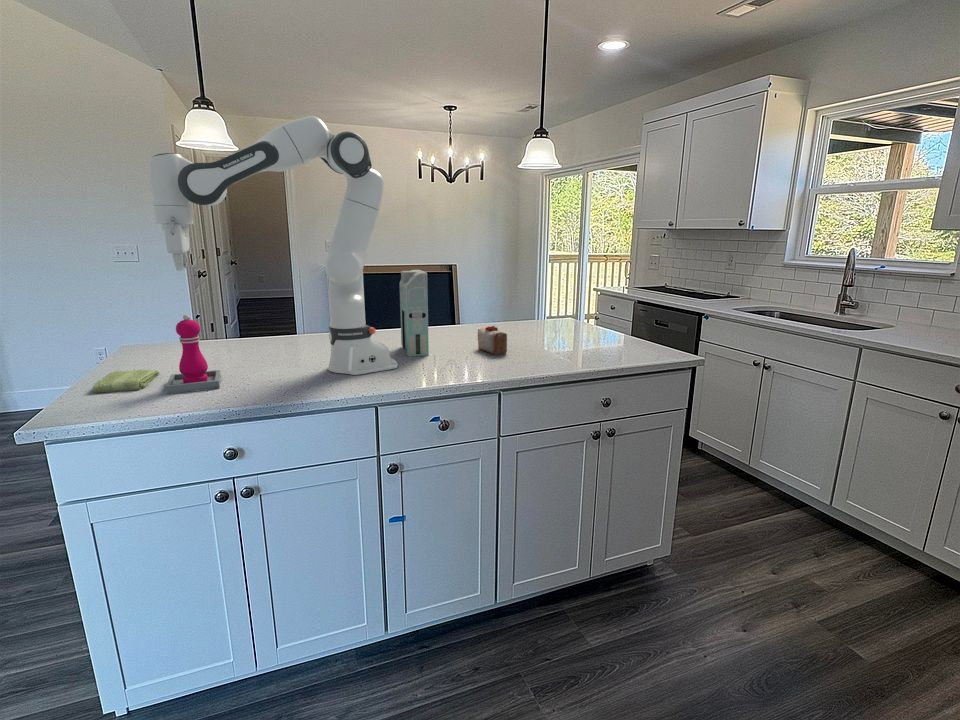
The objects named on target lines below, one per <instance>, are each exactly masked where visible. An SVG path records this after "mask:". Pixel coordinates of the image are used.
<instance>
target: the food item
mask: <svg viewBox="0 0 960 720" xmlns="http://www.w3.org/2000/svg"><path fill="white" fill-rule="evenodd" d="M498 327H499V325H497V326H495V325H491V326H486V327H481V328H478V329H477V339H476V340H477V348H478V349H479V350H482V351H485V352H487V353H490V354H491V355H494V356H499V355H506V354H507V353H508V333H506V332H503V331H501V330H499V328H498Z"/></svg>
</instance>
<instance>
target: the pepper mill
mask: <svg viewBox="0 0 960 720" xmlns="http://www.w3.org/2000/svg"><path fill="white" fill-rule="evenodd" d="M175 331H176V334H178V335H179V343H181V346H182V351H181V352H182V354H181V358H180V361H179V365H178V366H179V372H180V374H181V373H182V374H183V375H184V377H183V383H184V384H185V383H195V382H204V381H208V378H207V375H206V374H205V372H206V371H208V369H209V365H208V362H207V360H206V358H205V356H204V355H203V353H202V351H201V349H200V346H199V342H200V341H201V340H200V336H199V334H200V332H201V325H200V324H199V322H197V321H196V320H194V319H191V316H190V315H189V314H186V313H185V314H183V315H182V320H180V321H179V322H178V323H177V324H176V325H175Z"/></svg>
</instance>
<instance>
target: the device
mask: <svg viewBox="0 0 960 720" xmlns="http://www.w3.org/2000/svg"><path fill="white" fill-rule="evenodd" d="M400 275H401V276H400V281H399V306H400V307H399V308H400V309H399V310H400V311H399V312H400V334H401V335H400V338H401V339H400V340H401V341H400V342H401V347H402V349H403V350H405V353H406V354H407V356H408V357H426V356H429V347H430V346H429V344H430V343H429V305H428V304H429V302H428V301H429V300H428V299H429V297H428V292H429V291H428V272H426V271H424V270H421V269H412V270H411V269H410V270H401V271H400Z"/></svg>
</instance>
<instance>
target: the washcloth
mask: <svg viewBox="0 0 960 720" xmlns="http://www.w3.org/2000/svg"><path fill="white" fill-rule="evenodd" d="M159 374H160V371H159V370H157V369H143V368H142V369H132V370H125V371H123V370H114V371H113V372H109V373H107V374H106V375H105V376H104V377H102V378H101V379H100V380H97V381H96V382H95V383H94V385H93V386H92V391H93V393H96V394H100V393H101V394H103V393H114V392H124V391H125V392H127V391H128V392H129V391H140V389H141V390H143V389H144V388H146V387H148V386H149V384H150V383H151V382H152V381H153V380H154V379H155V378H156V376H158V375H159ZM149 382H150V383H149ZM148 383H149V384H148Z"/></svg>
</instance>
